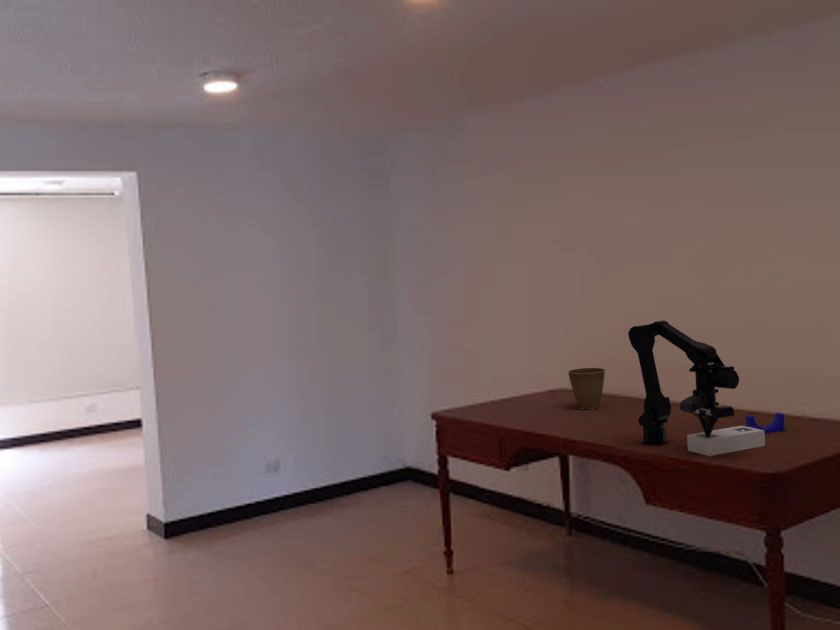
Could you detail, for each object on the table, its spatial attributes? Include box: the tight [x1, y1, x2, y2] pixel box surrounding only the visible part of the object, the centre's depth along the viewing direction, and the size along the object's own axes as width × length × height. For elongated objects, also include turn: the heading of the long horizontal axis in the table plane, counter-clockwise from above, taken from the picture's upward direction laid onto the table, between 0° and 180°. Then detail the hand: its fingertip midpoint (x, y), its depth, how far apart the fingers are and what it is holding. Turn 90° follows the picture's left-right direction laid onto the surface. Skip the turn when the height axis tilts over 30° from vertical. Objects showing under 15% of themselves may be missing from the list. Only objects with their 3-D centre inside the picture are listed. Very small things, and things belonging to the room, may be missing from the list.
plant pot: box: [567, 367, 606, 409], centre depth 357 cm, size 15×15×16 cm
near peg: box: [701, 434, 715, 438], centre depth 270 cm, size 4×4×5 cm
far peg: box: [736, 428, 750, 432], centre depth 275 cm, size 4×4×5 cm
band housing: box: [686, 425, 766, 457], centre depth 273 cm, size 10×22×5 cm, turn 112°
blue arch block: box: [745, 412, 786, 435], centre depth 291 cm, size 12×4×6 cm, turn 94°
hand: (707, 435), depth 270 cm, fingers closed, pressing on near peg
